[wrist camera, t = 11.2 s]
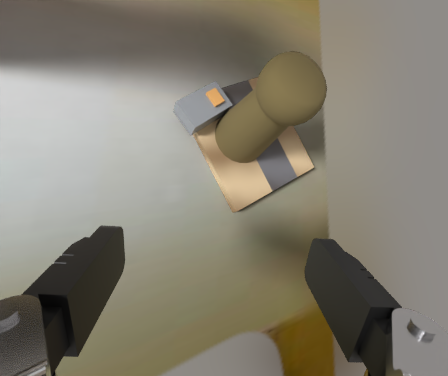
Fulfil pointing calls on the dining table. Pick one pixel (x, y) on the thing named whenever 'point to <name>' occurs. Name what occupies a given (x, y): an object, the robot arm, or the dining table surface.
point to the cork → (272, 106)
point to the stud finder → (202, 107)
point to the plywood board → (259, 168)
